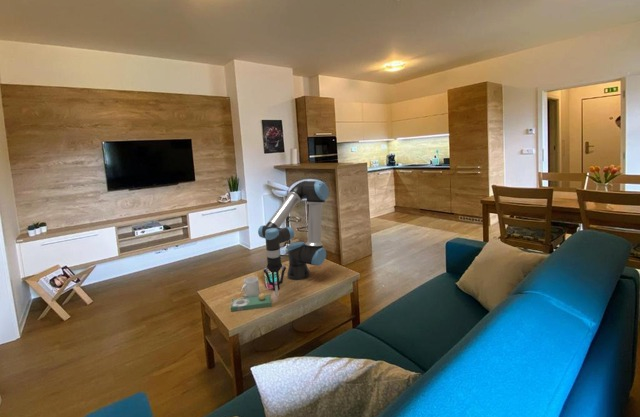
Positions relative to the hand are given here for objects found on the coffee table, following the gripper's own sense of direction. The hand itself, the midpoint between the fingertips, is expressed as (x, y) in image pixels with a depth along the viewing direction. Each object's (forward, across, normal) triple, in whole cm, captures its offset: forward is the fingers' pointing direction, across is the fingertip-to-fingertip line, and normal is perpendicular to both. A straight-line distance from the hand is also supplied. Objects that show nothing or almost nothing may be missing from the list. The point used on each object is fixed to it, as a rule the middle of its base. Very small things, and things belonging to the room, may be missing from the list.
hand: (276, 295), depth 193 cm
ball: (0, +8, 0) cm, 9 cm away
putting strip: (+4, +14, 0) cm, 15 cm away
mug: (+4, +16, -10) cm, 19 cm away
